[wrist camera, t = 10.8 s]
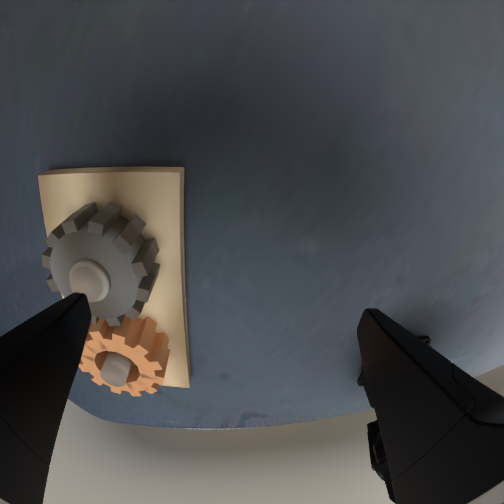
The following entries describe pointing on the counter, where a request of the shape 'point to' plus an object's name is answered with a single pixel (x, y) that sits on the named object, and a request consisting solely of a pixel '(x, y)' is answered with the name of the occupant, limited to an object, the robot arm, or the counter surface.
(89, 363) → the terracotta gear
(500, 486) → the robot arm
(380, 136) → the counter surface
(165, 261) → the gear board
